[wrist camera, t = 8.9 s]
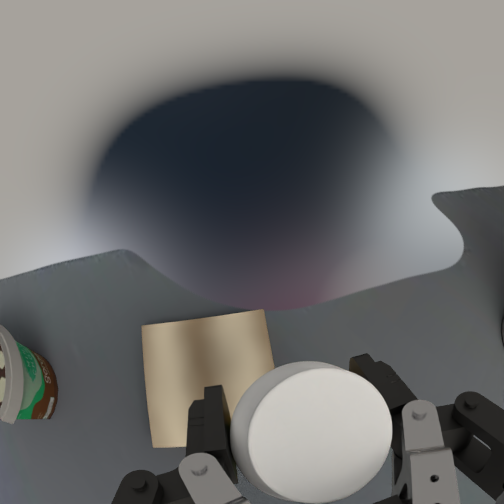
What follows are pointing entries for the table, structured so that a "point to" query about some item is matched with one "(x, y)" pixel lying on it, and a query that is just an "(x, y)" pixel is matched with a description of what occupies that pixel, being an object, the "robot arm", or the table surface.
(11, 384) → the food container
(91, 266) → the table surface
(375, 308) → the table surface
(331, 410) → the supplement bottle
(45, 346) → the table surface
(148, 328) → the base block
